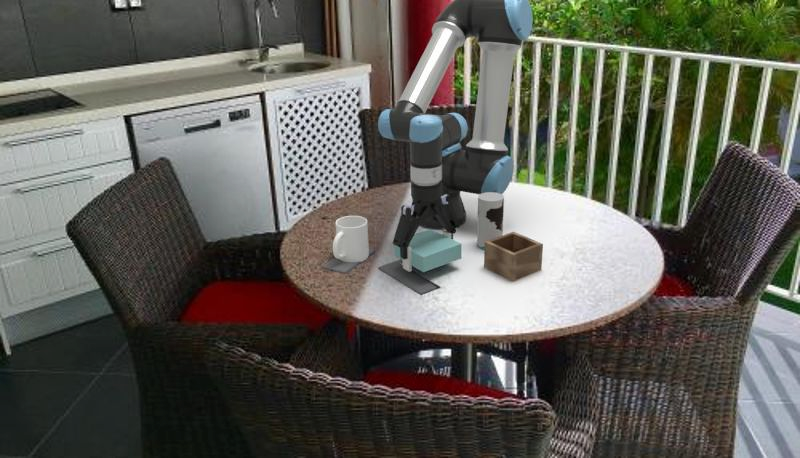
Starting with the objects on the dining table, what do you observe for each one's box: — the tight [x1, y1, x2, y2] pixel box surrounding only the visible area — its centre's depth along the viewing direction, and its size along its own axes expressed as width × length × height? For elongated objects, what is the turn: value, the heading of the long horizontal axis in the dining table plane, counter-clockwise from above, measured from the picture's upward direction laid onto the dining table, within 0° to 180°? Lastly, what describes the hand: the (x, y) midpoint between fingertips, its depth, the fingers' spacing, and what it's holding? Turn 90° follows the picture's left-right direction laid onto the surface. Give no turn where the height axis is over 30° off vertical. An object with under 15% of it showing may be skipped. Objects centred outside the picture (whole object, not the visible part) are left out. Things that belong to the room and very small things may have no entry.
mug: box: [332, 215, 370, 263], centre depth 177 cm, size 12×8×10 cm
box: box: [483, 231, 544, 283], centre depth 169 cm, size 10×10×8 cm
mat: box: [377, 259, 442, 296], centre depth 172 cm, size 18×18×1 cm
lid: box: [393, 228, 463, 273], centre depth 170 cm, size 12×12×5 cm
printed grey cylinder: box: [476, 192, 505, 251], centre depth 180 cm, size 7×7×15 cm
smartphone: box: [322, 247, 376, 275], centre depth 179 cm, size 8×1×15 cm
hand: (427, 262), depth 171 cm, fingers closed on lid, 12 cm apart
